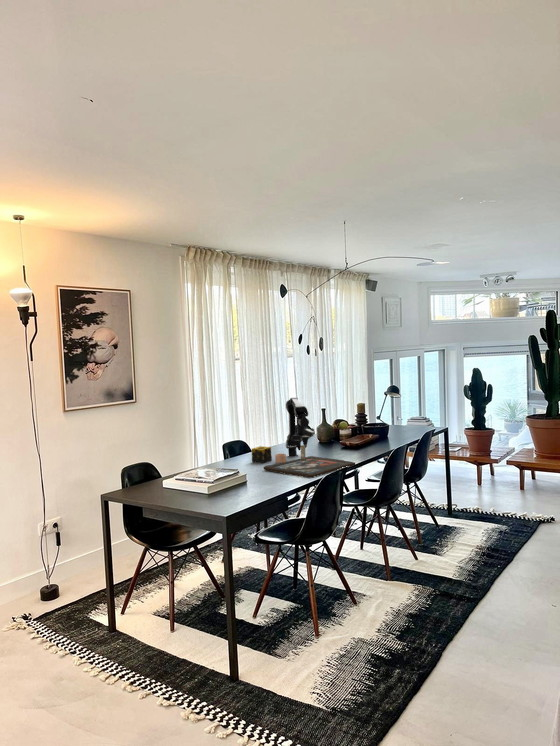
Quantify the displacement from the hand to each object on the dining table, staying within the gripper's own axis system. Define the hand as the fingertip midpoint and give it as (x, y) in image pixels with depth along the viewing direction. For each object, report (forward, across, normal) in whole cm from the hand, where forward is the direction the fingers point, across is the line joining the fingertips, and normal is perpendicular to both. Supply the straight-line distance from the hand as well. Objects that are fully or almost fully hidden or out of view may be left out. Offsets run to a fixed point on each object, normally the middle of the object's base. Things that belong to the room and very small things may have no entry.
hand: (302, 449), depth 361 cm
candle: (+11, +2, +32) cm, 34 cm away
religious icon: (+11, -8, -8) cm, 16 cm away
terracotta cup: (+10, +3, +18) cm, 21 cm away
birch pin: (+8, 0, 0) cm, 8 cm away
